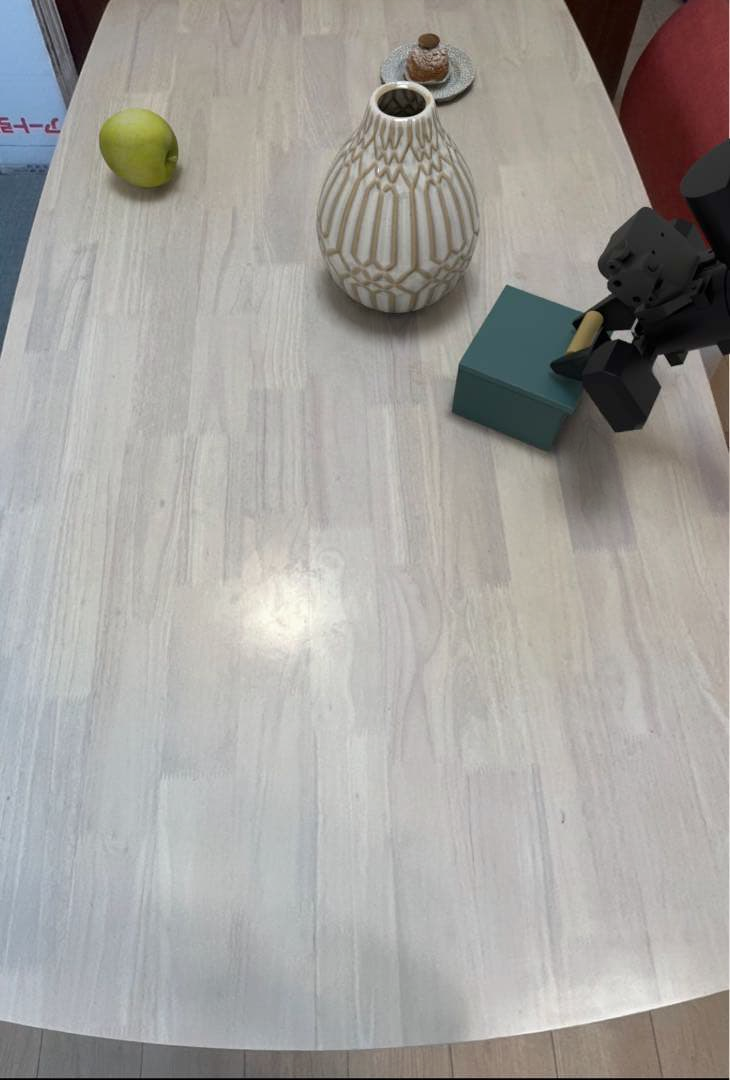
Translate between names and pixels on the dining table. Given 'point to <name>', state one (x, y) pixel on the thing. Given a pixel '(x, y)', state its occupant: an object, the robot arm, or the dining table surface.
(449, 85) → the pastry
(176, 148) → the apple
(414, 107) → the vase
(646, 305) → the robot arm
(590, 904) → the dining table surface
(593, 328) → the box lid
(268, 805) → the dining table surface
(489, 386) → the teal open box
